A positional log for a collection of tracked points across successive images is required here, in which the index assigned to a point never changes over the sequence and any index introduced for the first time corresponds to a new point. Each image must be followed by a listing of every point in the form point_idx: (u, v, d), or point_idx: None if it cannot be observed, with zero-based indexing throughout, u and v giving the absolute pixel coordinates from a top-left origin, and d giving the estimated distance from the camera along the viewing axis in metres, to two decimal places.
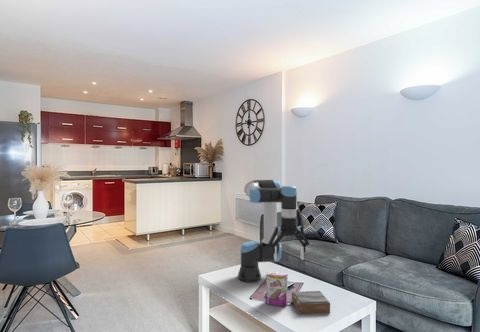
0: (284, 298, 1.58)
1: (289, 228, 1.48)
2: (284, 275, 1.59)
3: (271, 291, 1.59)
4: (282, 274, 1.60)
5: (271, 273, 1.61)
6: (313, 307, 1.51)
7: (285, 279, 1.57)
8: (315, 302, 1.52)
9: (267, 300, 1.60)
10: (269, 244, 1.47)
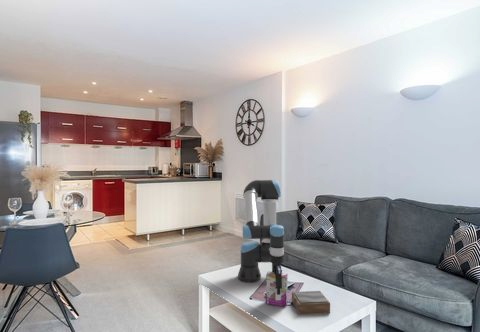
0: (284, 298, 1.58)
1: (274, 262, 1.60)
2: (284, 275, 1.59)
3: (271, 291, 1.59)
4: (282, 274, 1.60)
5: (271, 273, 1.61)
6: (313, 307, 1.51)
7: (285, 279, 1.57)
8: (315, 302, 1.52)
9: (267, 300, 1.60)
10: None
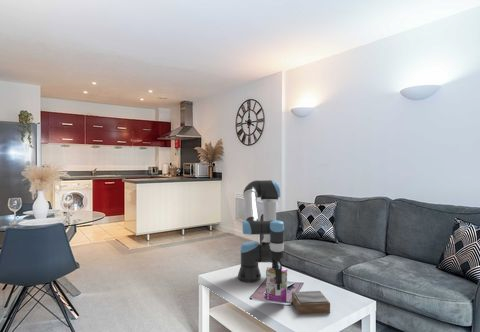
0: (284, 293, 1.58)
1: None
2: (284, 270, 1.59)
3: (271, 287, 1.59)
4: (282, 269, 1.60)
5: (271, 269, 1.61)
6: (313, 307, 1.51)
7: (285, 274, 1.58)
8: (315, 302, 1.52)
9: (267, 296, 1.60)
10: None
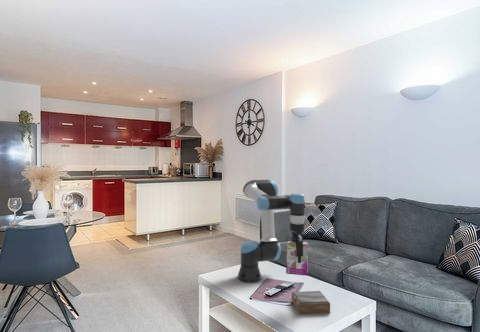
0: (305, 267, 1.55)
1: (295, 231, 1.58)
2: (305, 243, 1.57)
3: (292, 260, 1.57)
4: (303, 243, 1.58)
5: (291, 242, 1.59)
6: (313, 307, 1.51)
7: (306, 247, 1.55)
8: (315, 302, 1.52)
9: (288, 269, 1.57)
10: None
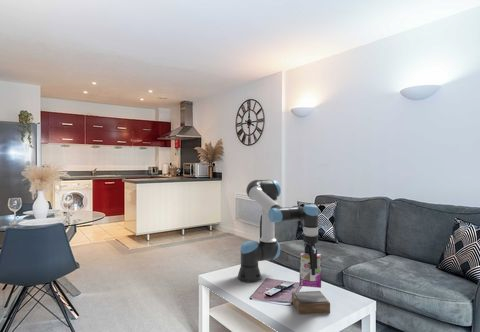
0: (319, 279, 1.54)
1: (308, 243, 1.57)
2: (318, 255, 1.56)
3: (305, 272, 1.56)
4: None
5: (305, 254, 1.58)
6: (313, 307, 1.51)
7: (320, 259, 1.54)
8: (315, 302, 1.52)
9: (301, 282, 1.56)
10: None
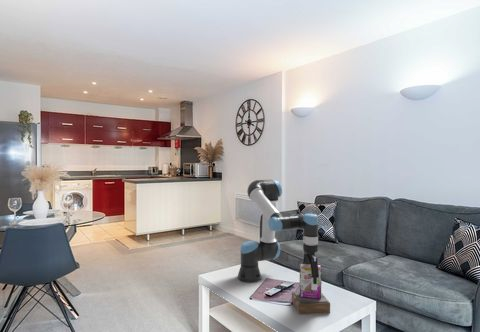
0: (319, 290, 1.55)
1: (308, 253, 1.57)
2: (318, 267, 1.56)
3: (305, 284, 1.56)
4: None
5: (305, 265, 1.58)
6: (313, 307, 1.51)
7: (320, 271, 1.54)
8: (315, 302, 1.52)
9: (301, 293, 1.56)
10: None
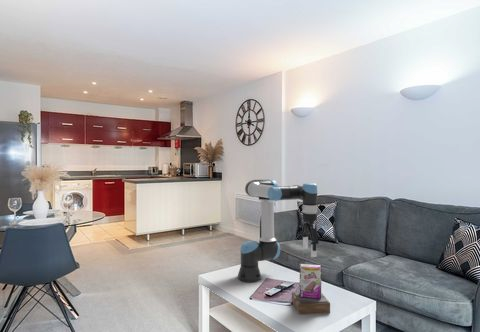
0: (319, 290, 1.55)
1: (307, 223, 1.58)
2: (318, 267, 1.56)
3: (305, 284, 1.56)
4: (316, 266, 1.57)
5: (305, 265, 1.58)
6: (313, 307, 1.51)
7: (320, 271, 1.54)
8: (315, 302, 1.52)
9: (301, 293, 1.56)
10: (301, 233, 1.68)
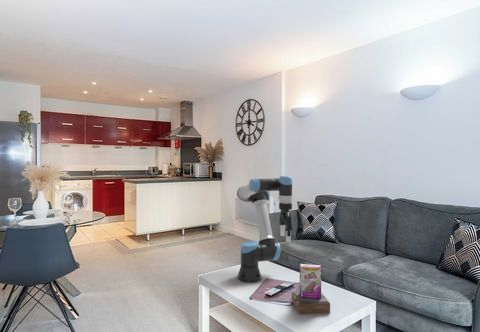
0: (319, 290, 1.55)
1: (283, 212, 1.74)
2: (318, 267, 1.56)
3: (305, 284, 1.56)
4: (316, 266, 1.57)
5: (305, 265, 1.58)
6: (313, 307, 1.51)
7: (320, 271, 1.54)
8: (315, 302, 1.52)
9: (301, 293, 1.56)
10: (279, 221, 1.84)
